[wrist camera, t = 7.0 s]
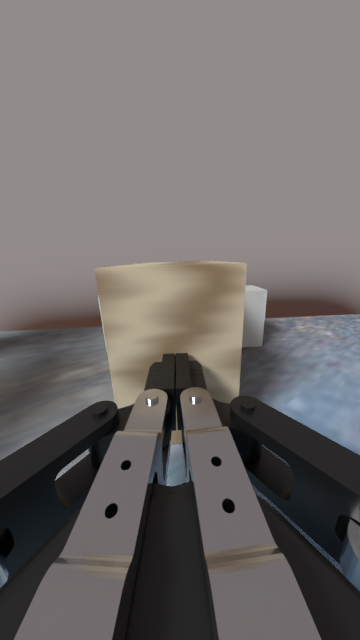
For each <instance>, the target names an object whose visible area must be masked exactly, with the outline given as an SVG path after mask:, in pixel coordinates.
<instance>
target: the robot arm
mask: <svg viewBox="0 0 360 640" xmlns="http://www.w3.org/2000/svg"><path fill="white" fill-rule="evenodd" d="M176 407H177V428H178V430H181V432H182V450H183V459H184V467H185V476H186V483H184V484H181V485H178V486H174V487H170V486H166V481H167V473H168V464H169V456H170V447H171V444H170V441H171V434H172V431H176ZM262 444H263V445H264V446H266V447H267V448H269V449H270V450H271V451H273V452H274V453H276V454H277V455H278V456H280V457H281V458H283V459H284V460H285V461H286V462H287V463H288V464H289V465H290V466H291V467H289V466H288V465H287V464H285V463H284V462H283V461H281V460H280V459H278V458H277V457H276V456H274V455H273V454H271V453H270V452H269V451H267V450H266V449H265V448H263V447H262ZM88 448H89V454H88V455H87V456H86V457H84V458H83V459H82V460H81V461H79V462H78V463H77V464H76V465H74V466H73V467H72V468H71V469H69V470H68V471H67V472H66V473H64V474H63V475H62V476H61V477H59V478H58V479H57V480H56V481H55V478H56V476H57V474H58V473H59V472H60V471H61V470H62V469H63V468H64V467H65V466H66V465H68V464H69V463H70V462H71V461H73V460H74V459H75V458H77V457H78V456H79V455H80V454H82V453H83V452H84V451H86V450H87V449H88ZM251 484H253V485H254V486H255V487H256V488H257V489H258V490H259V491H260V492H261V493H262V494H263V495H265V496H266V497H267V498H268V499H269V500H270V501H271V502H272V503H273V504H274V505H276V506H277V507H278V508H279V509H280V510H281V511H282V512H283V513H284V514H285V515H287V516H288V517H289V518H290V519H291V520H292V521H293V522H294V523H295V524H296V525H298V526H299V527H300V528H301V529H302V530H303V531H304V532H305V533H306V534H307V535H309V536H310V537H311V538H312V539H313V540H314V541H315V542H316V543H317V544H318V545H320V546H321V547H322V548H323V549H324V550H325V551H326V552H327V553H328V554H329V555H330V556H332V557H333V558H334V559H335V560H336V561H337V562H338V563H339V564H340V565H341V568H342V571H343V574H344V575H343V574H342V573H341V572H340V571H339V570H337V569H336V568H335V567H334V566H333V565H332V564H331V563H330V562H329V561H328V560H327V559H326V558H325V557H324V556H323V555H322V554H321V553H320V552H319V551H318V550H317V549H316V548H315V547H314V546H313V545H312V544H311V543H310V542H309V541H308V540H307V539H306V538H305V537H304V536H303V535H301V534H300V533H299V532H298V531H297V530H296V529H295V528H294V527H293V526H292V525H291V524H290V523H289V522H288V521H287V520H286V519H285V518H284V517H283V516H282V515H281V514H280V513H279V512H278V511H277V510H276V509H275V508H274V507H272V506H271V505H270V504H269V503H267V502H266V501H265V500H263V499H262V498H260V497H259V496H257V495H255V492H254V490H253V487H252V485H251ZM0 640H360V455H358V454H356V453H354V452H352V451H350V450H349V449H347V448H345V447H343V446H341V445H339V444H338V443H336V442H334V441H332V440H330V439H329V438H327V437H325V436H323V435H321V434H319V433H318V432H316V431H314V430H312V429H310V428H308V427H307V426H305V425H303V424H301V423H299V422H297V421H296V420H294V419H292V418H290V417H288V416H287V415H285V414H283V413H281V412H279V411H277V410H276V409H274V408H272V407H270V406H268V405H266V404H265V403H263V402H261V401H259V400H257V399H255V398H253V397H249V396H238V397H235V398H234V399H232V401H231V403H230V404H229V403H223V402H220V401H217V400H215V399H213V398H212V397H211V395H210V393H209V392H208V391H207V387H206V383H205V379H204V375H203V371H202V366H201V364H200V363H199V362H198V361H197V360H196V361H189V360H188V353H176V364H175V353H171V354H163V358H162V362H154V363H153V364H152V365H151V366H150V368H149V373H148V377H147V380H146V384H145V388H144V392H142V393H141V394H139V395H138V397H137V399H136V401H135V403H134V404H132V405H130V406H126V407H123V408H119V409H118V407H117V405H116V403H114V402H112V401H101V402H97V403H95V404H93V405H91V406H89V407H88V408H86V409H84V410H83V411H81V412H79V413H78V414H76V415H74V416H73V417H71V418H70V419H68V420H66V421H65V422H63V423H61V424H60V425H58V426H56V427H55V428H53V429H52V430H50V431H48V432H47V433H45V434H43V435H42V436H40V437H38V438H37V439H35V440H34V441H32V442H30V443H29V444H27V445H25V446H24V447H22V448H20V449H19V450H17V451H16V452H14V453H12V454H11V455H9V456H7V457H6V458H4V459H2V460H1V461H0Z"/></svg>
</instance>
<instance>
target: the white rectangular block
mask: <svg viewBox="0 0 360 640" xmlns="http://www.w3.org/2000/svg"><path fill="white" fill-rule="evenodd" d="M266 298H267V290H265V289H262V288H259V287H256V286H253V285H252V286H245V302H244V319H243V336H242V347H262V342H263V331H264V320H265V310H266ZM98 300H99V296H98ZM99 307H100V301H99ZM100 314H101V308H100ZM101 320H102V314H101ZM102 327H103V321H102ZM103 333H104V327H103ZM104 340H105V334H104ZM105 346H106V340H105ZM106 353H107V347H106Z"/></svg>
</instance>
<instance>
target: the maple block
mask: <svg viewBox="0 0 360 640" xmlns="http://www.w3.org/2000/svg"><path fill="white" fill-rule="evenodd" d="M246 267H247V263H238V262H220V261H185V262H156V263H137V264H128V265H120V266H113V267H104V268H95V275H96V281H97V288H98V295H99V301H100V308H101V314H102V321H103V327H104V334H105V340H106V347H107V353H108V360H109V367H110V373H111V380H112V386H113V393H114V399H115V403H116V405H117V407H118V409H119V408H123V407H126V406H130V405H132V404H134V403H135V401H136V399H137V397H138V395H139V394H141V393H142V392H144V388H145V384H146V380H147V377H148V373H149V368H150V366H151V365H152V364H153V363H154V362H162V358H163V354H171V353H175V364H176V353H188V360H189V361H196V360H197V361H198V362H199V363H200V364H201V366H202V371H203V375H204V379H205V383H206V387H207V391H208V392H209V393H210V395H211V397H212V398H213V399H215V400H217V401H220V402H223V403H229V404H230V403H231V401H232V399H234V398H235V397H238V396H239V386H240V369H241V353H242V336H243V319H244V302H245V286H246V269H247V268H246ZM181 443H182V432H181V430H178V428H177V407H176V431H172V434H171V441H170V444H181Z"/></svg>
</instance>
